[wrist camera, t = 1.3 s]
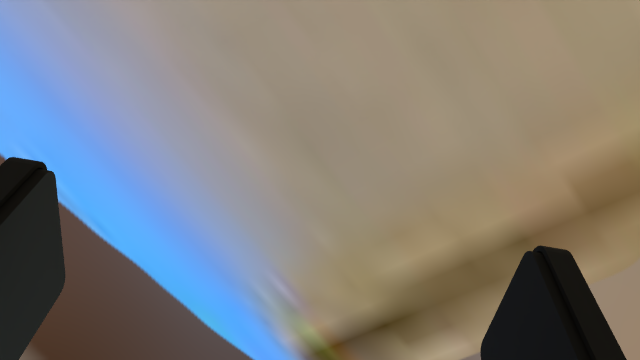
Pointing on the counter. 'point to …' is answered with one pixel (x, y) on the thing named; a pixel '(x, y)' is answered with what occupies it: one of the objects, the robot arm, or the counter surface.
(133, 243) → the counter surface
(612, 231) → the counter surface
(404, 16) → the counter surface
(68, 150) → the counter surface
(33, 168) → the robot arm
